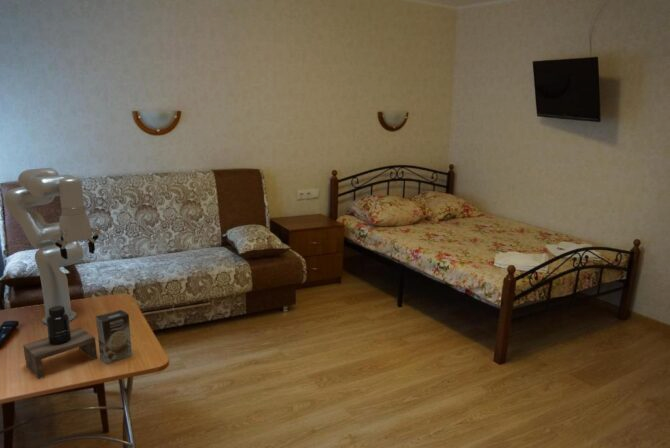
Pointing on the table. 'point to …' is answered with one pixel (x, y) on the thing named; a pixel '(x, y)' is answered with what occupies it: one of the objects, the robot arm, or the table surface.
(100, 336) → the coffee box
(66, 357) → the table surface
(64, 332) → the supplement bottle
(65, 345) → the walnut shelf
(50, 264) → the robot arm
